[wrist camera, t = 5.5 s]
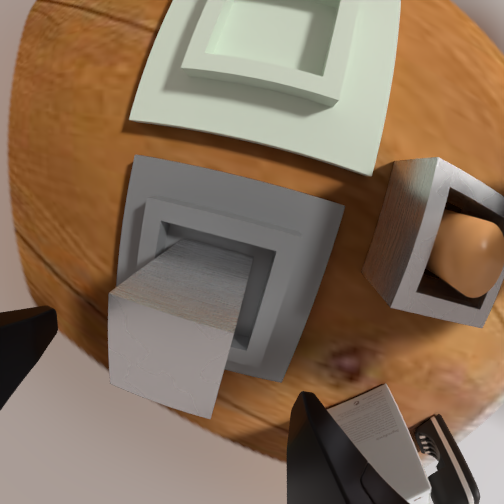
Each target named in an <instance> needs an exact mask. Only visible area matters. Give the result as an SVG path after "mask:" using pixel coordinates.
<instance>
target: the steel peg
mask: <svg viewBox="0 0 504 504" xmlns="http://www.w3.org/2000/svg"><path fill="white" fill-rule="evenodd" d="M252 261H253V256H249V255H245V254H241V253H238V252H234V251H230V250H226V249H223V248H219V247H215V246H212V245H208V244H204V243H200V242H197V241H193V240H189V239H186V238H183V239H182V240H180V241H179V242H178V243H176V244H175V245H173V246H172V247H171V248H169V249H168V250H166V251H165V252H163V253H162V254H161V255H159V256H158V257H157V258H155V259H154V260H152V261H151V262H150V263H148V264H147V265H146V266H144V267H143V268H141V269H140V270H139V271H137V272H136V273H135V274H133V275H132V276H131V277H129V278H128V279H127V280H125V281H124V282H123V283H121V284H120V285H119V286H117V287H116V288H115V289H113V290H112V291H111V292H109V300H108V353H109V374H110V384H112V385H114V386H117V387H119V388H121V389H124V390H126V391H128V392H131V393H133V394H136V395H138V396H141V397H143V398H146V399H149V400H151V401H154V402H157V403H160V404H163V405H165V406H168V407H171V408H174V409H177V410H181V411H184V412H187V413H190V414H194V415H197V416H201V417H204V418H208V419H211V415H212V412H213V408H214V404H215V401H216V397H217V394H218V390H219V386H220V383H221V379H222V375H223V372H224V368H225V365H226V361H227V357H228V354H229V350H230V346H231V343H232V339H233V335H234V332H235V328H236V324H237V320H238V316H239V312H240V308H241V304H242V300H243V297H244V293H245V289H246V285H247V281H248V277H249V273H250V269H251V265H252Z"/></svg>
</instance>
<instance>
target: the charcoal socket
mask: <svg viewBox="0 0 504 504" xmlns="http://www.w3.org/2000/svg"><path fill="white" fill-rule="evenodd" d="M344 209H345V206H344V205H341V204H338V203H335V202H332V201H329V200H326V199H322V198H319V197H316V196H312V195H309V194H305V193H302V192H298V191H295V190H291V189H288V188H284V187H281V186H277V185H273V184H269V183H266V182H262V181H258V180H254V179H250V178H246V177H242V176H238V175H234V174H230V173H225V172H221V171H217V170H212V169H208V168H203V167H199V166H194V165H189V164H184V163H180V162H175V161H169V160H164V159H159V158H154V157H148V156H142V155H135V157H134V162H133V166H132V171H131V176H130V182H129V187H128V193H127V198H126V204H125V211H124V218H123V225H122V232H121V240H120V249H119V259H118V271H117V284H116V287H117V286H119V285H120V284H121V283H123V282H124V281H125V280H127V279H128V278H129V277H131V276H132V275H133V274H135V273H136V272H137V271H139V270H140V269H141V268H143V267H144V266H146V265H147V264H148V263H150V262H151V261H152V260H154V259H155V258H157V257H158V256H159V255H161V254H162V253H163V252H165V251H166V250H168V249H169V248H171V247H172V246H173V245H175V244H176V243H178V242H179V241H180V240H182V239H183V238H186V239H189V240H193V241H197V242H200V243H204V244H208V245H212V246H215V247H219V248H223V249H226V250H230V251H234V252H238V253H241V254H245V255H249V256H253V261H252V265H251V269H250V273H249V277H248V281H247V285H246V289H245V293H244V297H243V300H242V304H241V308H240V312H239V316H238V320H237V324H236V328H235V332H234V335H233V339H232V343H231V346H230V350H229V354H228V357H227V361H226V365H225V368H224V369H225V370H229V371H233V372H237V373H241V374H245V375H249V376H253V377H257V378H262V379H266V380H271V381H276V382H281V383H282V380H283V378H284V376H285V373H286V371H287V369H288V366H289V364H290V361H291V359H292V357H293V354H294V352H295V349H296V347H297V344H298V342H299V339H300V337H301V334H302V332H303V329H304V327H305V324H306V321H307V319H308V316H309V314H310V311H311V308H312V306H313V303H314V300H315V297H316V295H317V292H318V289H319V286H320V283H321V280H322V278H323V275H324V272H325V269H326V266H327V263H328V260H329V257H330V254H331V251H332V248H333V245H334V241H335V238H336V235H337V232H338V229H339V225H340V222H341V219H342V216H343V212H344Z"/></svg>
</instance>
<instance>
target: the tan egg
mask: <svg viewBox="0 0 504 504" xmlns="http://www.w3.org/2000/svg"><path fill="white" fill-rule="evenodd" d="M503 266H504V237H503V234H502V232H501V230H500V229H499V227H498V226H497V225H495V224H494V223H492V222H489V221H486V220H483V219H479V218H476V217H472V216H468V215H465V214H461V213H457V212H453V211H449V210H445V209H444V212H443V215H442V219H441V222H440V226H439V229H438V232H437V236H436V239H435V242H434V245H433V248H432V251H431V254H430V257H429V259H428V262H427V265H426V268H427V269H428V270H430V271H431V272H433V273H434V274H435V275H437V276H438V277H440V278H441V279H443V280H444V281H445V282H447V283H448V284H450V285H451V286H452V287H454V288H455V289H457V290H458V291H459V292H461V293H462V294H464V295H465V296H467V297H470V298H476V297H480V296H482V295H484V294H485V293H487V292H488V291H489V290H490V289H491V288H492V287H493V286H494V284H495V283H496V282H497V280H498V278H499V276H500V274H501V272H502V269H503Z"/></svg>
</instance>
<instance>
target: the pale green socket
mask: <svg viewBox="0 0 504 504" xmlns="http://www.w3.org/2000/svg"><path fill="white" fill-rule="evenodd" d="M400 5H401V0H173V1H172V4H171V6H170V8H169V10H168V12H167V14H166V16H165V19H164V21H163V23H162V25H161V28H160V30H159V32H158V35H157V37H156V40H155V42H154V45H153V47H152V50H151V52H150V55H149V58H148V60H147V63H146V66H145V69H144V72H143V75H142V78H141V81H140V84H139V87H138V90H137V93H136V96H135V100H134V103H133V107H132V110H131V114H130V117H129V120H132V121H135V122H139V123H148V124H155V125H162V126H169V127H176V128H182V129H188V130H194V131H199V132H205V133H210V134H215V135H220V136H225V137H230V138H234V139H239V140H243V141H247V142H252V143H256V144H260V145H264V146H268V147H272V148H276V149H280V150H283V151H287V152H291V153H294V154H298V155H301V156H305V157H308V158H312V159H315V160H318V161H321V162H325V163H328V164H331V165H334V166H337V167H340V168H343V169H346V170H349V171H352V172H355V173H358V174H361V175H363V176H372V173H373V169H374V166H375V162H376V157H377V153H378V149H379V145H380V140H381V136H382V131H383V127H384V122H385V117H386V112H387V107H388V101H389V96H390V90H391V84H392V78H393V71H394V64H395V57H396V49H397V40H398V30H399V19H400Z"/></svg>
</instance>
